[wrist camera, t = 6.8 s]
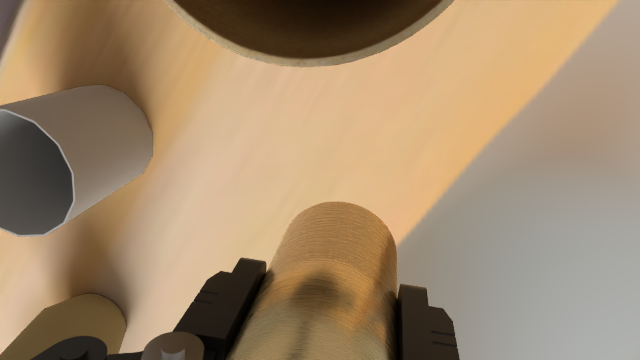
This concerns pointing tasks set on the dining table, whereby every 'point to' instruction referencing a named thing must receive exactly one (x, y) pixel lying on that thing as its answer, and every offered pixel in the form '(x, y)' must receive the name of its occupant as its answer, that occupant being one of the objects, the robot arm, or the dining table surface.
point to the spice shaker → (326, 291)
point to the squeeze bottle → (70, 326)
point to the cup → (67, 155)
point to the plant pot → (307, 27)
